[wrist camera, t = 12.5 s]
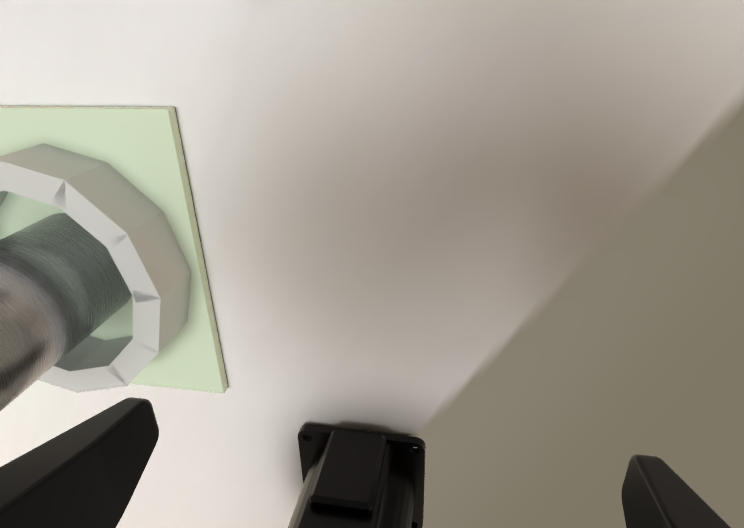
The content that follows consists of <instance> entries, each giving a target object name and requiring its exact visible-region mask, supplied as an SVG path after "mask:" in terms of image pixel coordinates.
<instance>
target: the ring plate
mask: <svg viewBox="0 0 744 528" xmlns="http://www.w3.org/2000/svg"><path fill="white" fill-rule="evenodd" d="M59 213H66V214H67V215H69V216H70V217H71V218H72V219H73V220H75V221H76V222H77V223H78V224H79V225H81V226H82V227H83V228H84V229H85V230H87V231H88V232H89V233H90V234H91V235H93V236H94V237H95V238H96V239H97V240H99V241H100V242H101V243H102V244H103V245H105V246H106V247H107V249H108V251H109V253H110V255H111V257H112V258H113V260H114V262H115V264H116V266H117V268H118V270H119V271H120V273H121V275H122V277H123V279H124V281H125V283H126V284H127V286H128V288H129V290H130V292H131V294H132V295H131V298H130V299H129V301H128V302H127V303H126V304H125V305H124V306H123V307H122V308H121V309H119V310H118V311H117V312H116V313H115V314H114V315H112V316H111V317H110V318H109V319H108V320H106V321H105V322H104V323H103V324H102V325H101V326H99V327H98V328H97V329H96V330H95V331H94V332H92V333H91V334H90V335H89V336H88V337H87V338H85V339H84V340H83V341H82V342H81V343H80V344H78V345H77V346H76V347H75V348H74V349H73V350H71V351H70V352H69V353H68V354H67V355H66V356H64V357H63V358H62V359H61V360H60V361H59V362H57V363H56V364H55V365H54V366H53V367H51V368H50V369H49V370H48V371H47V372H46V373H44V374H43V375H42V376H41V377H40V378H39V379H37V380H40V381H44V382H47V383H50V384H53V385H56V386H59V387H62V388H65V389H68V390H71V391H74V392H77V393H78V392H85V391H93V390H100V389H108V388H115V387H123V386H127V385H128V384H129V383H132V384H141V385H151V386H160V387H169V388H178V389H187V390H196V391H205V392H215V393H225V391H226V389H227V388H228V384H227V379H226V374H225V368H224V363H223V358H222V353H221V347H220V342H219V337H218V332H217V327H216V321H215V316H214V311H213V306H212V300H211V295H210V290H209V285H208V280H207V274H206V269H205V264H204V259H203V253H202V248H201V243H200V238H199V233H198V227H197V222H196V217H195V212H194V207H193V201H192V196H191V191H190V186H189V180H188V175H187V170H186V165H185V160H184V154H183V149H182V144H181V139H180V133H179V128H178V123H177V118H176V113H175V107H87V106H0V240H1V239H3V238H5V237H7V236H9V235H11V234H13V233H15V232H17V231H19V230H21V229H23V228H25V227H27V226H29V225H31V224H33V223H35V222H37V221H39V220H41V219H43V218H45V217H47V216H50V215H53V214H59Z"/></svg>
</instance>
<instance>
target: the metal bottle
mask: <svg viewBox="0 0 744 528" xmlns="http://www.w3.org/2000/svg"><path fill="white" fill-rule="evenodd" d="M131 295H132V294H131V292H130V290H129V288H128V286H127V284H126V283H125V281H124V279H123V277H122V275H121V273H120V271H119V270H118V268H117V266H116V264H115V262H114V260H113V258H112V257H111V255H110V253H109V251H108V249H107V247H106V246H105V245H103V244H102V243H101V242H100V241H99V240H97V239H96V238H95V237H94V236H93V235H91V234H90V233H89V232H88V231H87V230H85V229H84V228H83V227H82V226H81V225H79V224H78V223H77V222H76V221H75V220H73V219H72V218H71V217H70V216H69V215H67V214H66V213H59V214H53V215H50V216H47V217H45V218H43V219H41V220H39V221H37V222H35V223H33V224H31V225H29V226H27V227H25V228H23V229H21V230H19V231H17V232H15V233H13V234H11V235H9V236H7V237H5V238H3V239H1V240H0V411H1V410H2V409H3V408H5V407H6V406H7V405H8V404H9V403H11V402H12V401H13V400H14V399H15V398H16V397H18V396H19V395H20V394H21V393H22V392H23V391H25V390H26V389H27V388H28V387H29V386H30V385H32V384H33V383H34V382H35V381H36V380H37V379H39V378H40V377H41V376H42V375H43V374H44V373H46V372H47V371H48V370H49V369H50V368H51V367H53V366H54V365H55V364H56V363H57V362H59V361H60V360H61V359H62V358H63V357H64V356H66V355H67V354H68V353H69V352H70V351H71V350H73V349H74V348H75V347H76V346H77V345H78V344H80V343H81V342H82V341H83V340H84V339H85V338H87V337H88V336H89V335H90V334H91V333H92V332H94V331H95V330H96V329H97V328H98V327H99V326H101V325H102V324H103V323H104V322H105V321H106V320H108V319H109V318H110V317H111V316H112V315H114V314H115V313H116V312H117V311H118V310H119V309H121V308H122V307H123V306H124V305H125V304H126V303H127V302H128V301H129V299H130V298H131Z"/></svg>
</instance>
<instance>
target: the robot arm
mask: <svg viewBox="0 0 744 528" xmlns="http://www.w3.org/2000/svg"><path fill="white" fill-rule="evenodd" d="M307 434H309V435H307ZM158 436H159V429H158V425H157V421H156V418H155V414H154V411H153V407H152V404H151V402H150V401H149V400H147V399H141V398H127V399H125V400H123V401H121V402H119V403H117V404H115V405H113V406H112V407H110V408H108V409H106V410H104V411H102V412H101V413H99V414H97V415H95V416H93V417H91V418H90V419H88V420H86V421H84V422H82V423H80V424H79V425H77V426H75V427H73V428H71V429H70V430H68V431H66V432H64V433H62V434H60V435H59V436H57V437H55V438H53V439H51V440H49V441H47V442H46V443H44V444H42V445H40V446H38V447H36V448H35V449H33V450H31V451H29V452H27V453H25V454H24V455H22V456H20V457H18V458H16V459H14V460H13V461H11V462H9V463H7V464H5V465H3V466H2V467H0V528H116V526H117V524H118V522H119V521H120V519H121V517H122V515H123V513H124V511H125V509H126V507H127V505H128V503H129V501H130V499H131V497H132V495H133V493H134V490H135V488H136V486H137V484H138V482H139V480H140V478H141V475H142V473H143V471H144V469H145V467H146V465H147V463H148V460H149V458H150V456H151V454H152V452H153V450H154V448H155V445H156V443H157V440H158ZM298 441H299V450H300V458H301V466H302V475H303V483H304V485H303V487H302V490H301V493H300V496H299V498H298V501H297V504H296V507H295V509H294V512H293V515H292V518H291V521H290V523H289V526H288V528H422V525H423V506H424V505H423V504H424V474H425V443H424V441H423V440H422V439H420V438H417V437H410V436H402V435H393V434H385V433H376V432H368V431H359V430H350V429H342V428H333V427H325V426H316V425H304V426H302V427H301V429H300V431H299V433H298ZM413 447H417V448H413ZM622 504H623V510H624V516H625V521H626V527H627V528H731V527H730V526H729V525H727V523H726V522H725V521H724V520H723V519H721V518H720V517H719V516H718V514H717V513H715V512H714V511H713V510H712V509H711V508H710V507H709V506H708V505H707V504H706V503H705V502H704V501H703V500H702V499H701V498H700V497H699V496H698V495H697V494H696V493H695V492H694V491H693V490H692V489H691V488H690V487H689V486H688V485H687V484H686V483H685V482H684V481H683V480H682V479H681V478H680V477H679V476H678V475H677V474H676V473H675V472H674V471H673V470H672V469H671V468H670V467H669V466H668V465H667V464H666V463H665V462H664V461H663V460H661V459H660V458H658V457H654V456H646V455H633V456H632V457H631V459H630V461H629V465H628V469H627V472H626V476H625V480H624V483H623V487H622Z"/></svg>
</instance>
